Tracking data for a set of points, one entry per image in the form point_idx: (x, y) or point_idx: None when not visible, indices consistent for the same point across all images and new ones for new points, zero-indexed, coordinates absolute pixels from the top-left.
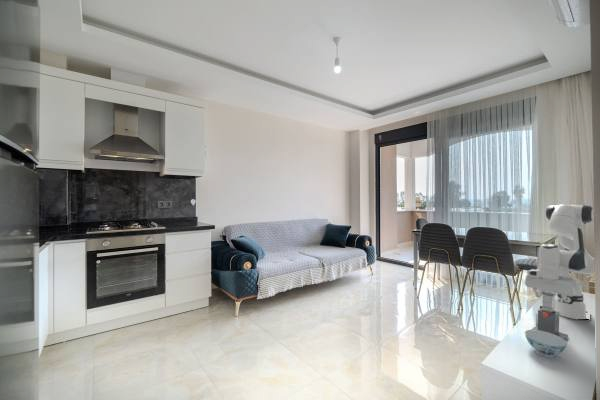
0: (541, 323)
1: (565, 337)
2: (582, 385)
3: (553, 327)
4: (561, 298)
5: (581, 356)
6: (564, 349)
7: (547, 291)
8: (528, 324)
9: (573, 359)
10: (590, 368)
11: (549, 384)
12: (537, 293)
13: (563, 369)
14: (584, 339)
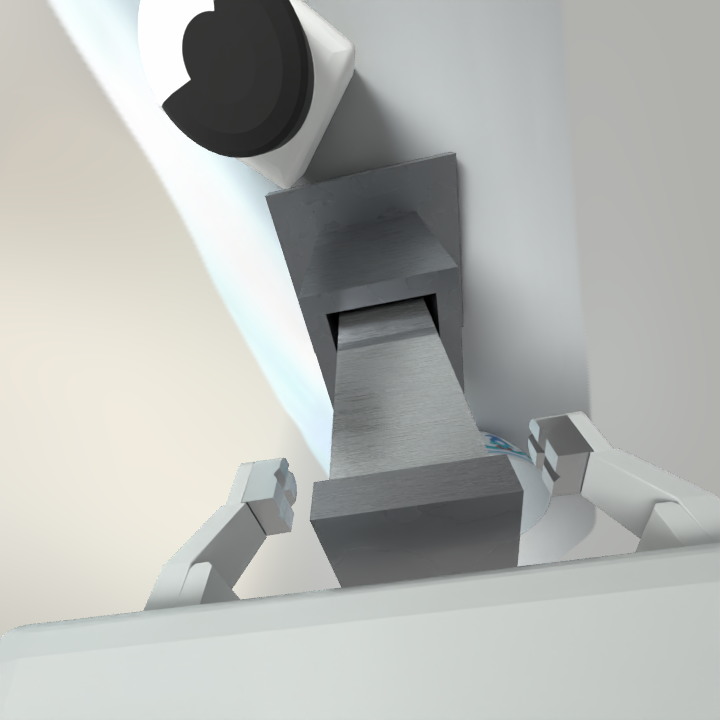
0: None
1: (458, 227)
2: (579, 513)
3: None
4: (612, 511)
5: (554, 349)
6: (532, 474)
7: (360, 514)
8: (208, 195)
9: (535, 404)
10: (590, 415)
11: (520, 560)
12: (256, 519)
13: None
14: (531, 36)
